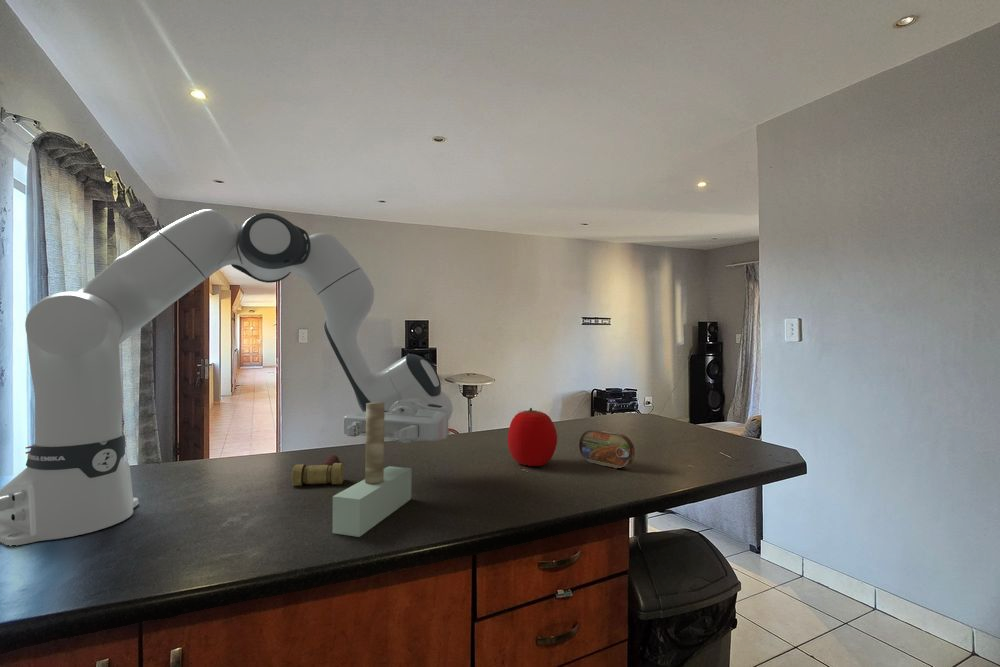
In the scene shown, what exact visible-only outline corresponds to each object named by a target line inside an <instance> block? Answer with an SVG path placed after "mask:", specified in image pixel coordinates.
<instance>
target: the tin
mask: <svg viewBox="0 0 1000 667" xmlns="http://www.w3.org/2000/svg"><path fill="white" fill-rule="evenodd" d="M578 446H579V452H580V454H581V455H580V456H582V458H583V459H584V458H586V459H591V460H596V461H600V462H605V463H610V464H614V465H618V466H622V467H625V468H627V467H630V466H631V464H632V463H633V461H634V459H635V456H636V455H635V453H636V451H635V446H634V443H633V442H632V440H631V439H630V438H629V437H628V436H627V435H624V434H622V433H616V432H609V431H604V430H598V429H589V430H586V431H584V432H583V433H582V434H581V436H580V438H579V443H578ZM626 466H627V467H626Z"/></svg>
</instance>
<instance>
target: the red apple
mask: <svg viewBox="0 0 1000 667" xmlns="http://www.w3.org/2000/svg"><path fill="white" fill-rule="evenodd" d="M507 444H508V450H509V452H510V455H511V458H513V459H514V461H515V462H516V463H518V464H520V465H522V464H523V465H524V466H526V465H528V466H527V467H531V466H539V467H542V466H545V465H546V464H548V463H549V462H550V461H551V459H552V458H553V456H554V454H555V451H556V448H557V444H558V433H557V429H556V426H555V424H554V422H553V420H552V419H551V417H550V416H549V415H548V414H547V413H545V412H544V411H542V410H535V409H534V410H533V407H529V409H528V410H523V411H522V410H520V411H518V413H517V414H515V415H514V417H513V418H512V420H511V421H510V424H509V427H508V433H507ZM523 465H522V466H523Z"/></svg>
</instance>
